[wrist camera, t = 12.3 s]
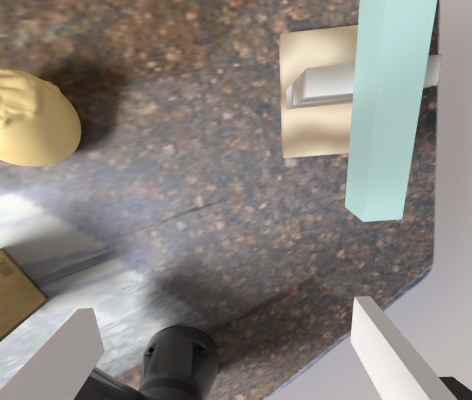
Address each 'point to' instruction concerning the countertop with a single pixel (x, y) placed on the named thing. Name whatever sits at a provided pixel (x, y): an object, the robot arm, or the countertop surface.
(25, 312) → the food packaging
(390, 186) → the beam
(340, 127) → the balance stand
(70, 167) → the countertop surface
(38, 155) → the sculpture
